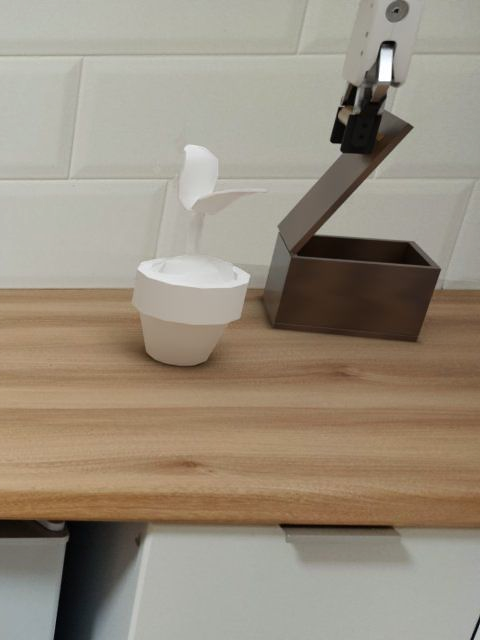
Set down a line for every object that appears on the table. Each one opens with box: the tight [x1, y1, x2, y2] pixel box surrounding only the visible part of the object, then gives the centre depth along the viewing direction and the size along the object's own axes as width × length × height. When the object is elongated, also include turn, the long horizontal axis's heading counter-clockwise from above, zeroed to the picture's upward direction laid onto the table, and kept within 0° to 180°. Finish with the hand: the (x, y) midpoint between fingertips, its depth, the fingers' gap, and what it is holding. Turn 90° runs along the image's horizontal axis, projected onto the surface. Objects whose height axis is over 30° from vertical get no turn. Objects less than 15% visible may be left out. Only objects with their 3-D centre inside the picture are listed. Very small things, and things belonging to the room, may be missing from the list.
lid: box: [276, 105, 415, 255], centre depth 104 cm, size 17×13×5 cm
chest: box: [262, 231, 442, 343], centre depth 109 cm, size 16×13×9 cm
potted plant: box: [131, 123, 269, 367], centre depth 93 cm, size 13×12×25 cm
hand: (349, 146), depth 102 cm, fingers closed on lid, 6 cm apart
